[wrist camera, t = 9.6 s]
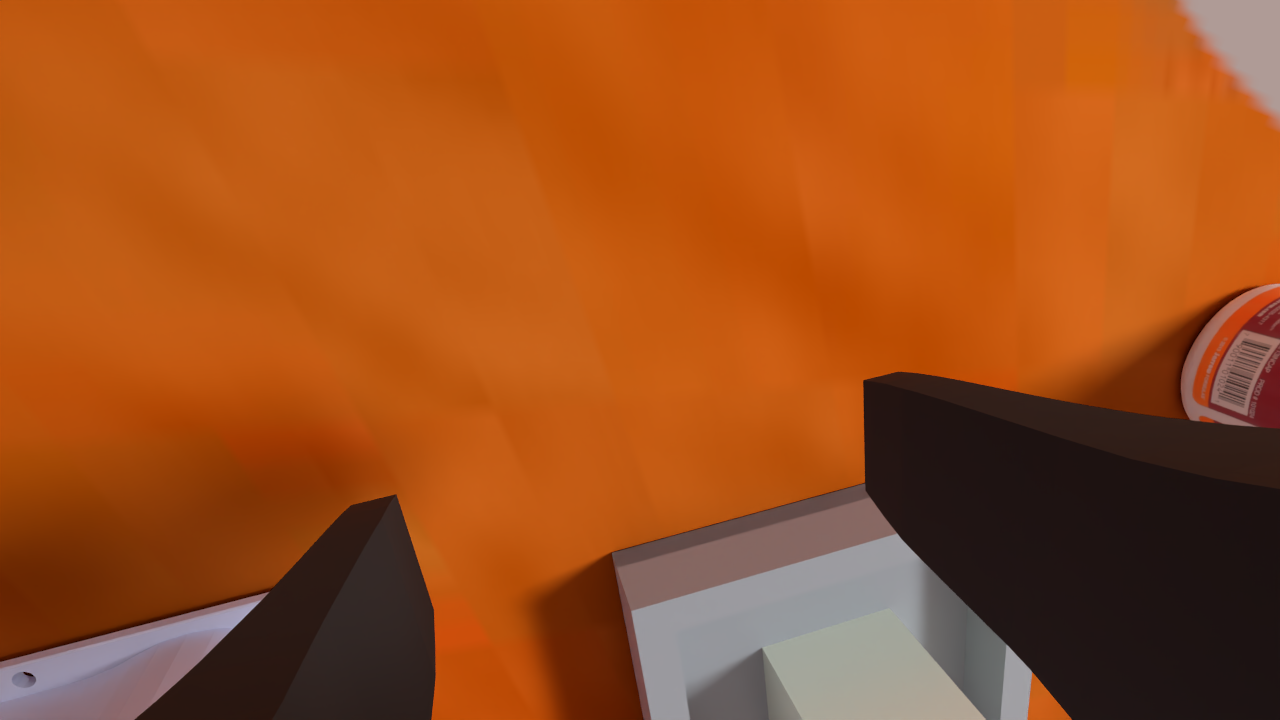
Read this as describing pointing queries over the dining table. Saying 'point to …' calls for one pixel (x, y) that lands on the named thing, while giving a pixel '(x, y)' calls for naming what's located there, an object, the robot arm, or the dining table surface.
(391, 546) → the robot arm
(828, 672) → the block
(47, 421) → the dining table surface
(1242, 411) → the pill bottle
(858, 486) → the tray
